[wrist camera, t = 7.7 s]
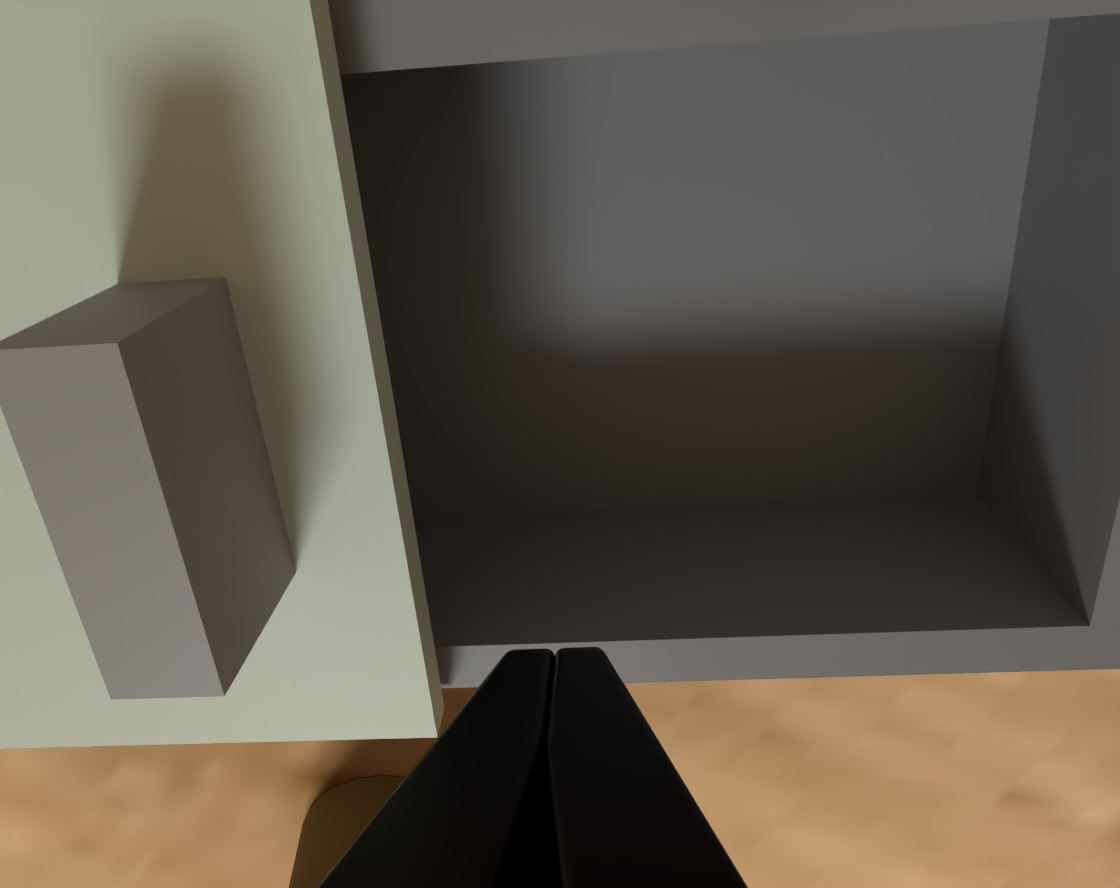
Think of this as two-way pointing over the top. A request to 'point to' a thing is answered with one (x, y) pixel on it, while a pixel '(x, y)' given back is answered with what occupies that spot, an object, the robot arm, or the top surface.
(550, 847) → the robot arm
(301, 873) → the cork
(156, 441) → the sliding box lid
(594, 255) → the tray
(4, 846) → the top surface
